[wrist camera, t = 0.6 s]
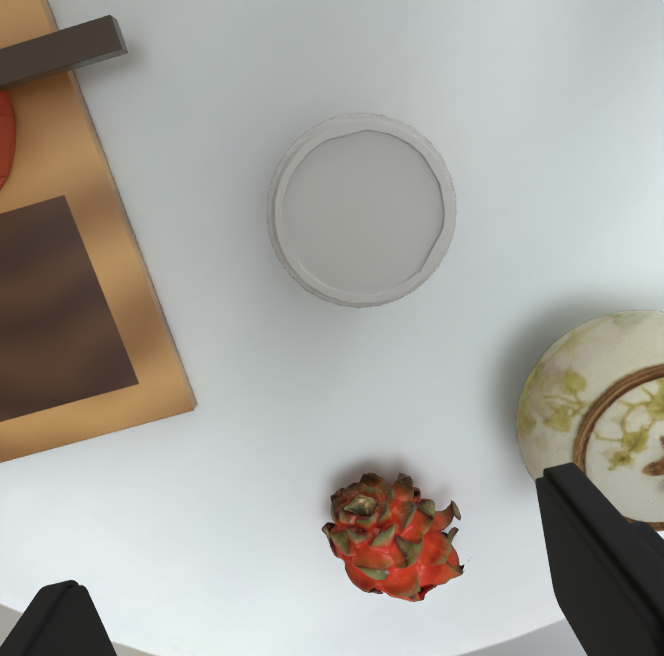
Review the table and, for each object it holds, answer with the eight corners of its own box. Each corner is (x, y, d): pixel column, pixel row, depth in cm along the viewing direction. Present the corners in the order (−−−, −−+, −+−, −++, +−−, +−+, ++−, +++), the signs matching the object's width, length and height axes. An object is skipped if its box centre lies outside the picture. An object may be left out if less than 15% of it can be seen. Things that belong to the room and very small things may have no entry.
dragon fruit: (327, 449, 44) (435, 510, 47) (282, 553, 40) (402, 610, 44) (384, 449, 36) (507, 522, 40) (335, 577, 33) (474, 643, 37)
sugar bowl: (580, 527, 44) (708, 693, 30) (433, 441, 42) (494, 575, 27) (745, 332, 40) (985, 414, 26) (593, 225, 38) (762, 248, 23)
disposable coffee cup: (332, 300, 39) (337, 348, 27) (253, 188, 37) (223, 189, 25) (443, 225, 38) (499, 241, 26) (369, 105, 36) (394, 65, 24)
